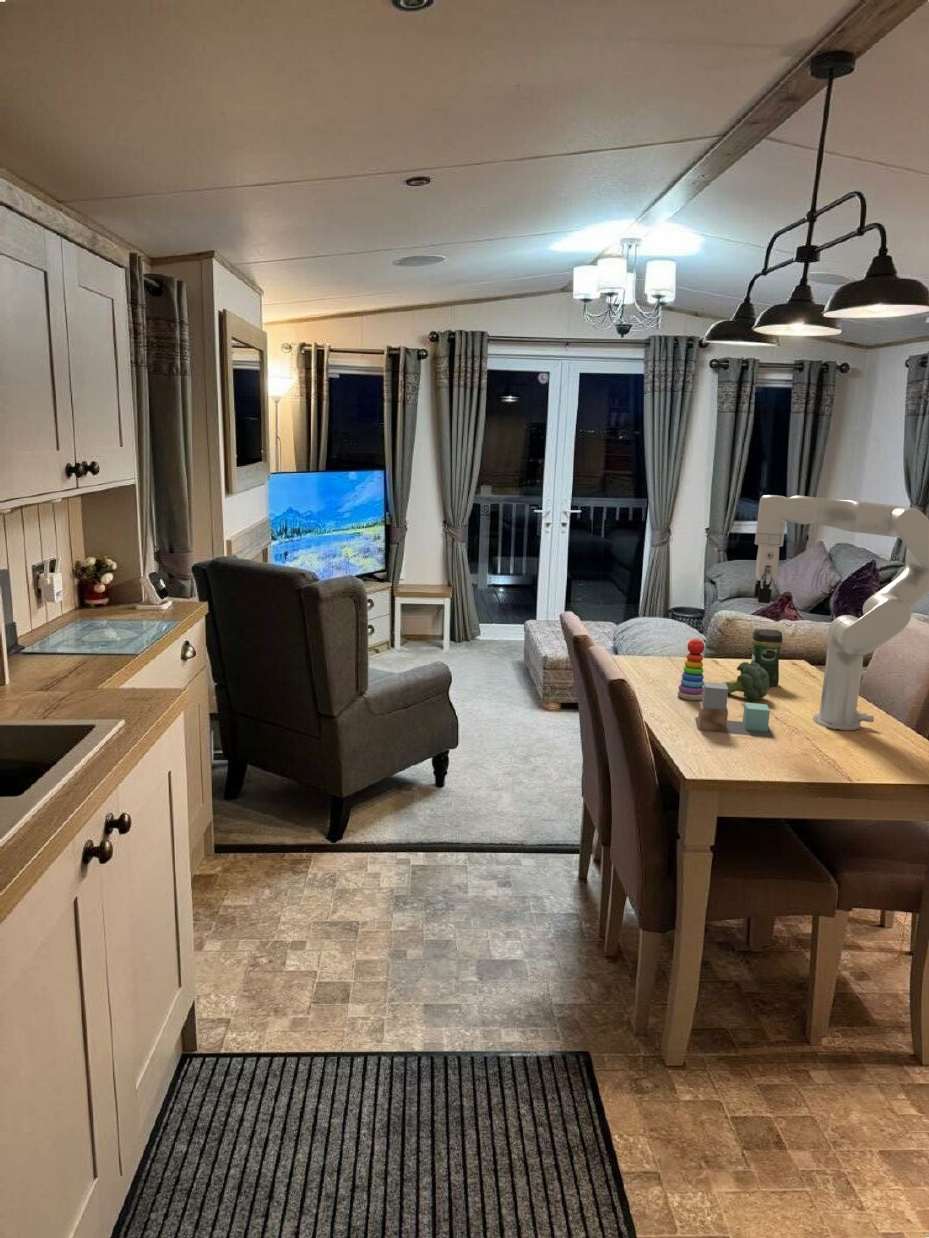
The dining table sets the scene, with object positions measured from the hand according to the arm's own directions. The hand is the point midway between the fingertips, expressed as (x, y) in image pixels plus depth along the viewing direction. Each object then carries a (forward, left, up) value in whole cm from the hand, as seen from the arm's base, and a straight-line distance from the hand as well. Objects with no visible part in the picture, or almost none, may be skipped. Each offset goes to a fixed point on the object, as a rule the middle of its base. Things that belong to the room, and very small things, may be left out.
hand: (761, 600), depth 243 cm
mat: (+6, +13, -35) cm, 37 cm away
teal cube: (0, +11, -34) cm, 36 cm away
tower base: (+12, +15, -34) cm, 39 cm away
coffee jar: (-9, -41, -35) cm, 55 cm away
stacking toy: (+16, -15, -35) cm, 41 cm away
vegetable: (-1, -21, -35) cm, 41 cm away
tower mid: (+12, +15, -28) cm, 34 cm away
